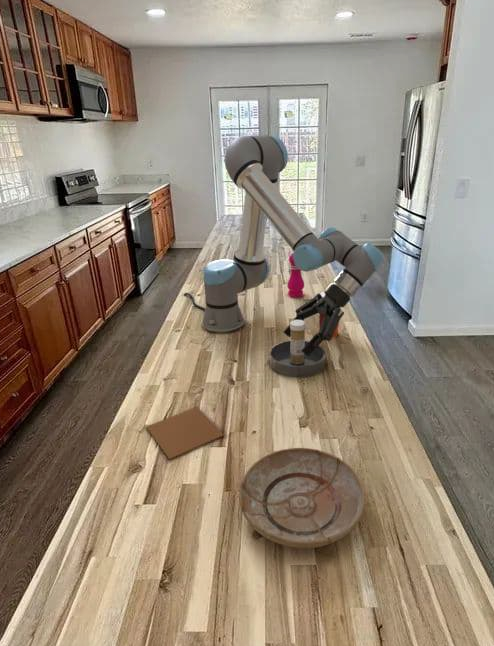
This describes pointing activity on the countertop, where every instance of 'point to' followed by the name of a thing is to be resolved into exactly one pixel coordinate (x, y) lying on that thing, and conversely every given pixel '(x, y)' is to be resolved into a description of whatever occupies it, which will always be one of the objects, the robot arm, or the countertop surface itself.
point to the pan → (283, 365)
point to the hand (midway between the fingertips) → (295, 343)
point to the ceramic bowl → (302, 497)
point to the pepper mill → (295, 280)
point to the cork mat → (184, 432)
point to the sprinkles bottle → (297, 341)
